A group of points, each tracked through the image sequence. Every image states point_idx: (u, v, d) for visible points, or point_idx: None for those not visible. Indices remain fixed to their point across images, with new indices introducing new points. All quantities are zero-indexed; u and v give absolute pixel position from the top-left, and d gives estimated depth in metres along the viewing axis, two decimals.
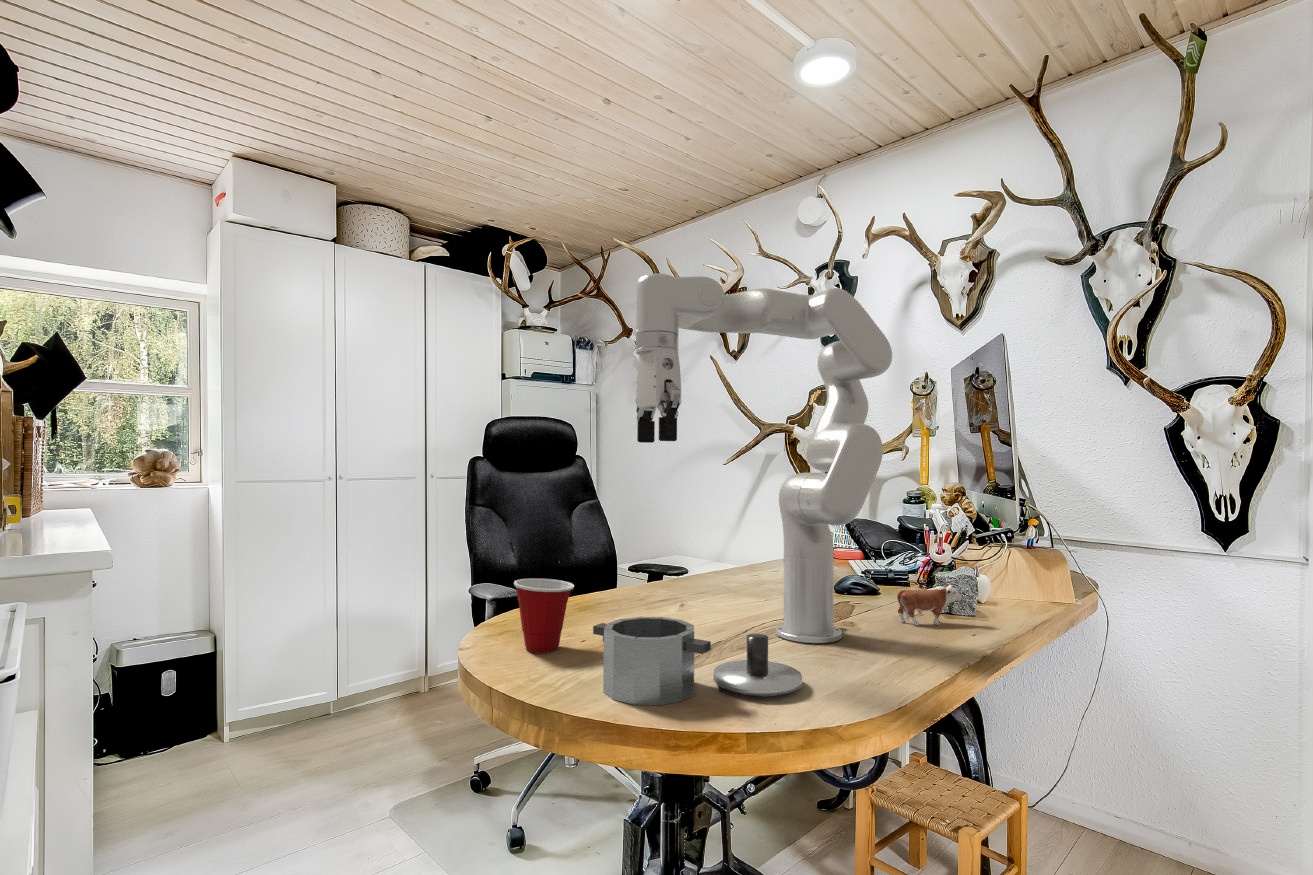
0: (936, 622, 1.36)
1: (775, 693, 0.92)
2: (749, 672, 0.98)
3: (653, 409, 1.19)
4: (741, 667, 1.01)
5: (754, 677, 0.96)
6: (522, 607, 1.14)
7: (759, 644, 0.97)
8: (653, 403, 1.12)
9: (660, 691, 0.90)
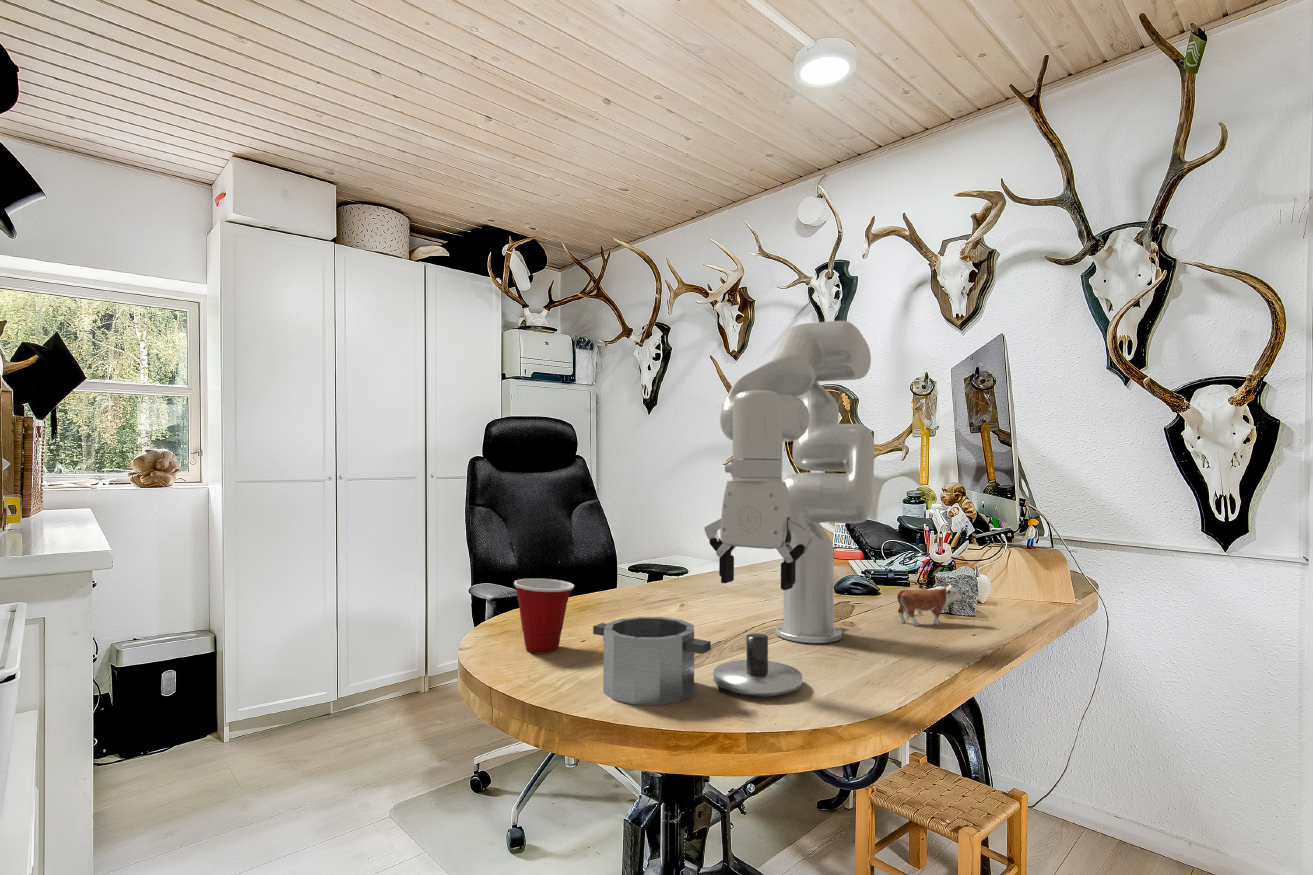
0: (936, 622, 1.36)
1: (775, 693, 0.92)
2: (749, 672, 0.98)
3: (776, 547, 0.96)
4: (741, 667, 1.01)
5: (754, 677, 0.96)
6: (522, 607, 1.14)
7: (759, 644, 0.97)
8: None
9: (660, 691, 0.90)
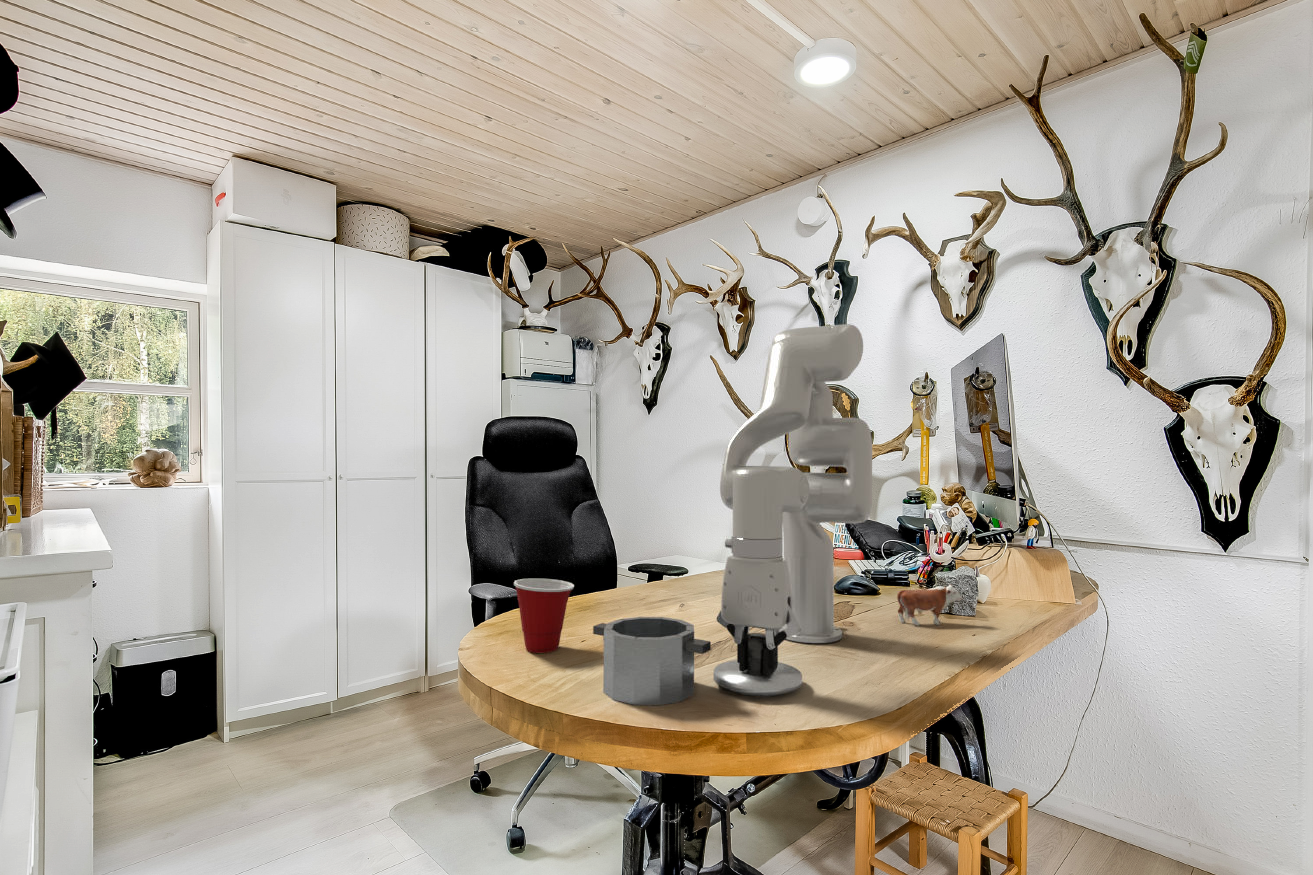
0: (936, 622, 1.36)
1: (775, 692, 0.92)
2: (749, 671, 0.98)
3: None
4: None
5: (754, 676, 0.96)
6: (522, 607, 1.14)
7: (759, 643, 0.97)
8: None
9: (660, 691, 0.90)
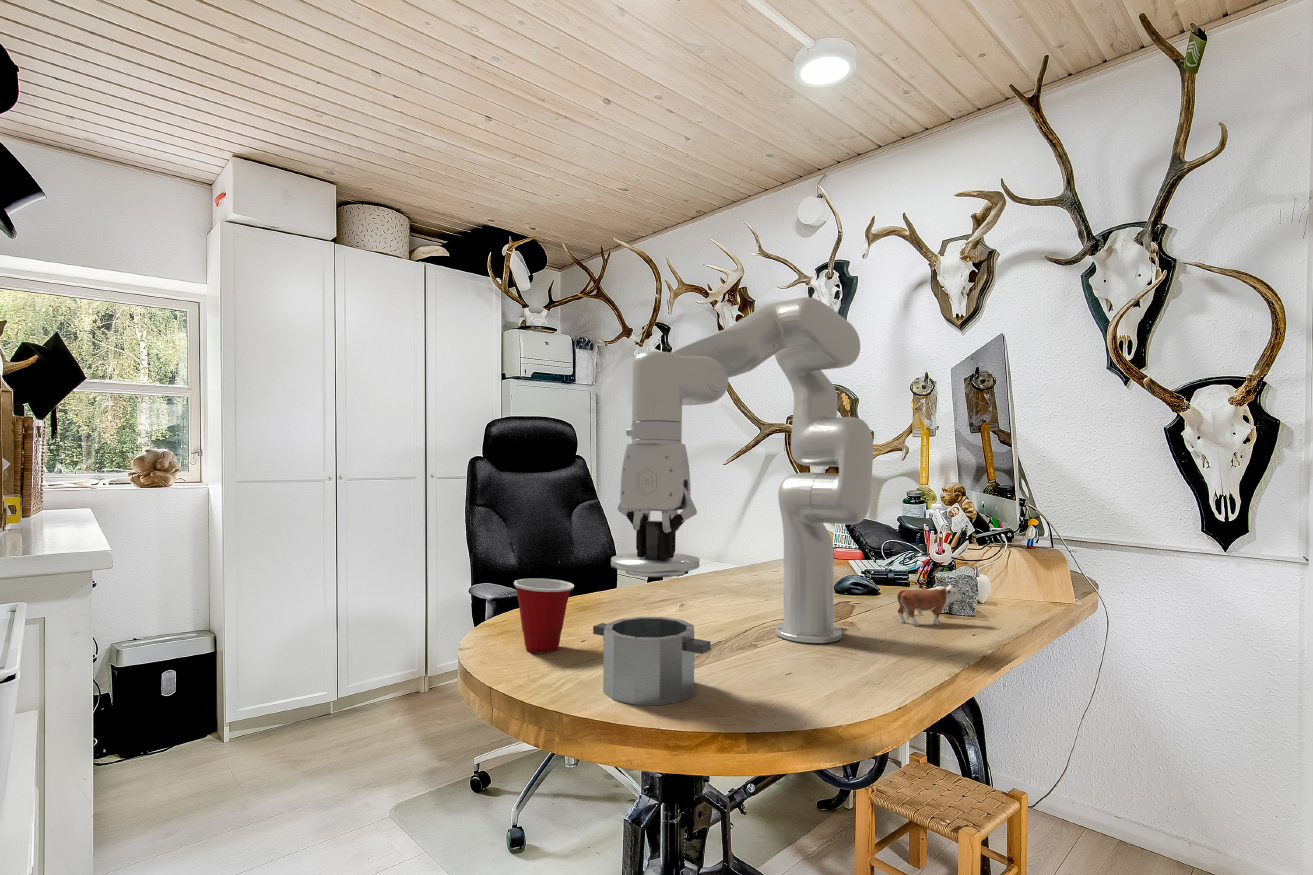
0: (936, 622, 1.36)
1: (667, 570, 0.91)
2: (646, 556, 0.96)
3: None
4: None
5: (650, 560, 0.95)
6: (522, 607, 1.14)
7: (656, 527, 0.96)
8: None
9: (660, 691, 0.90)
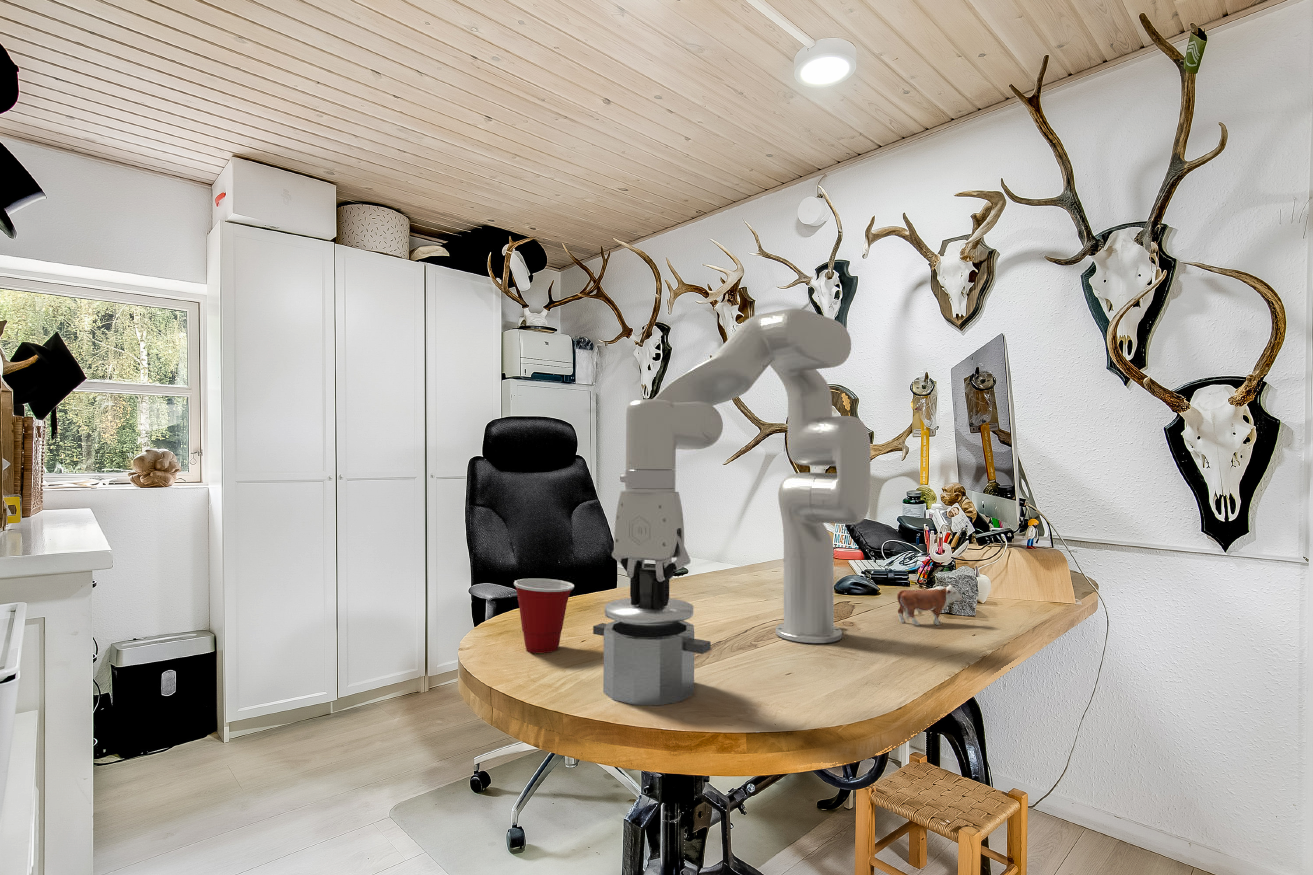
0: (936, 622, 1.36)
1: (660, 622, 0.91)
2: (640, 605, 0.96)
3: (656, 560, 0.96)
4: None
5: (643, 609, 0.95)
6: (522, 607, 1.14)
7: (650, 576, 0.96)
8: None
9: (660, 691, 0.90)
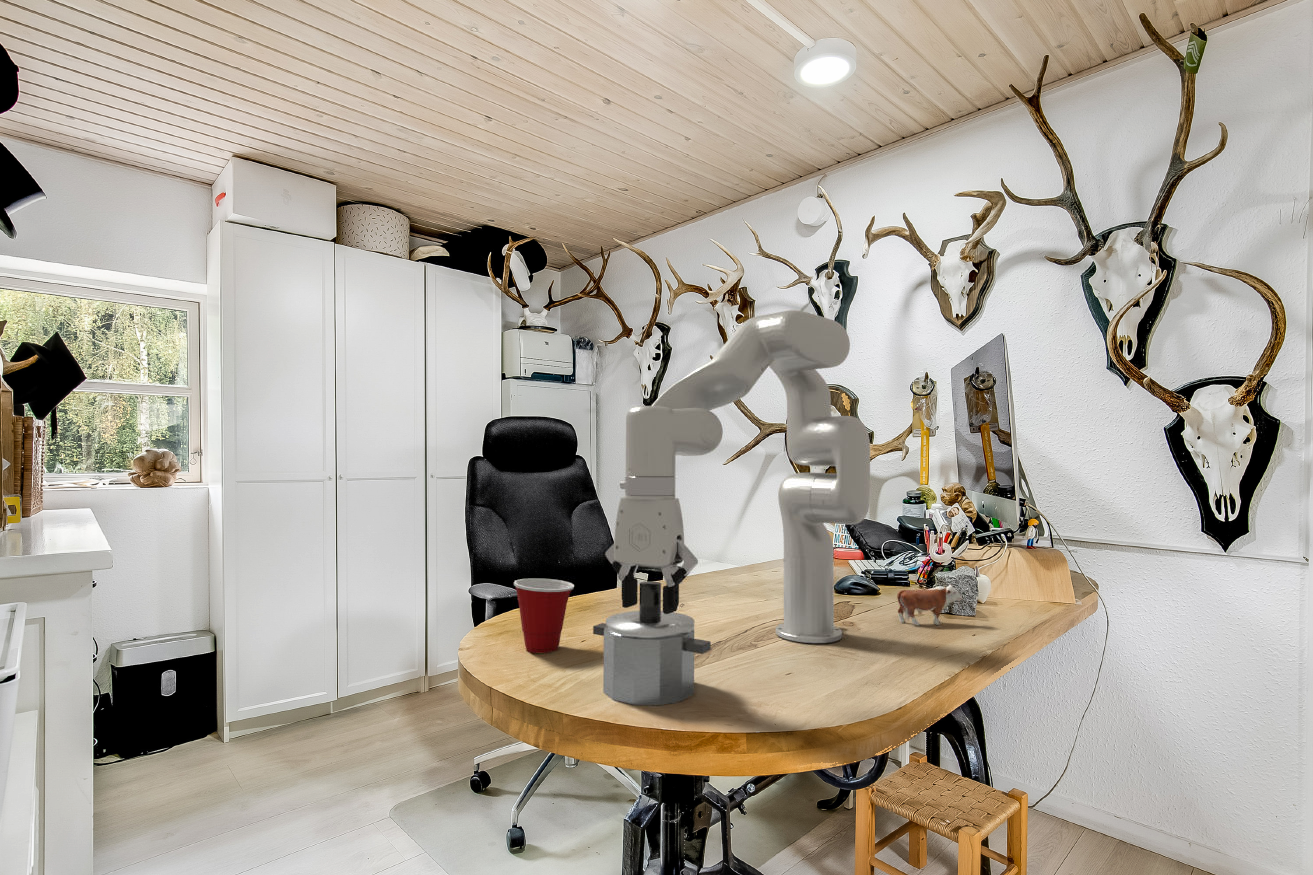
0: (936, 622, 1.36)
1: (661, 637, 0.91)
2: (641, 619, 0.96)
3: (662, 567, 0.95)
4: (636, 616, 1.00)
5: (644, 623, 0.95)
6: (522, 607, 1.14)
7: (650, 590, 0.96)
8: None
9: (660, 691, 0.90)
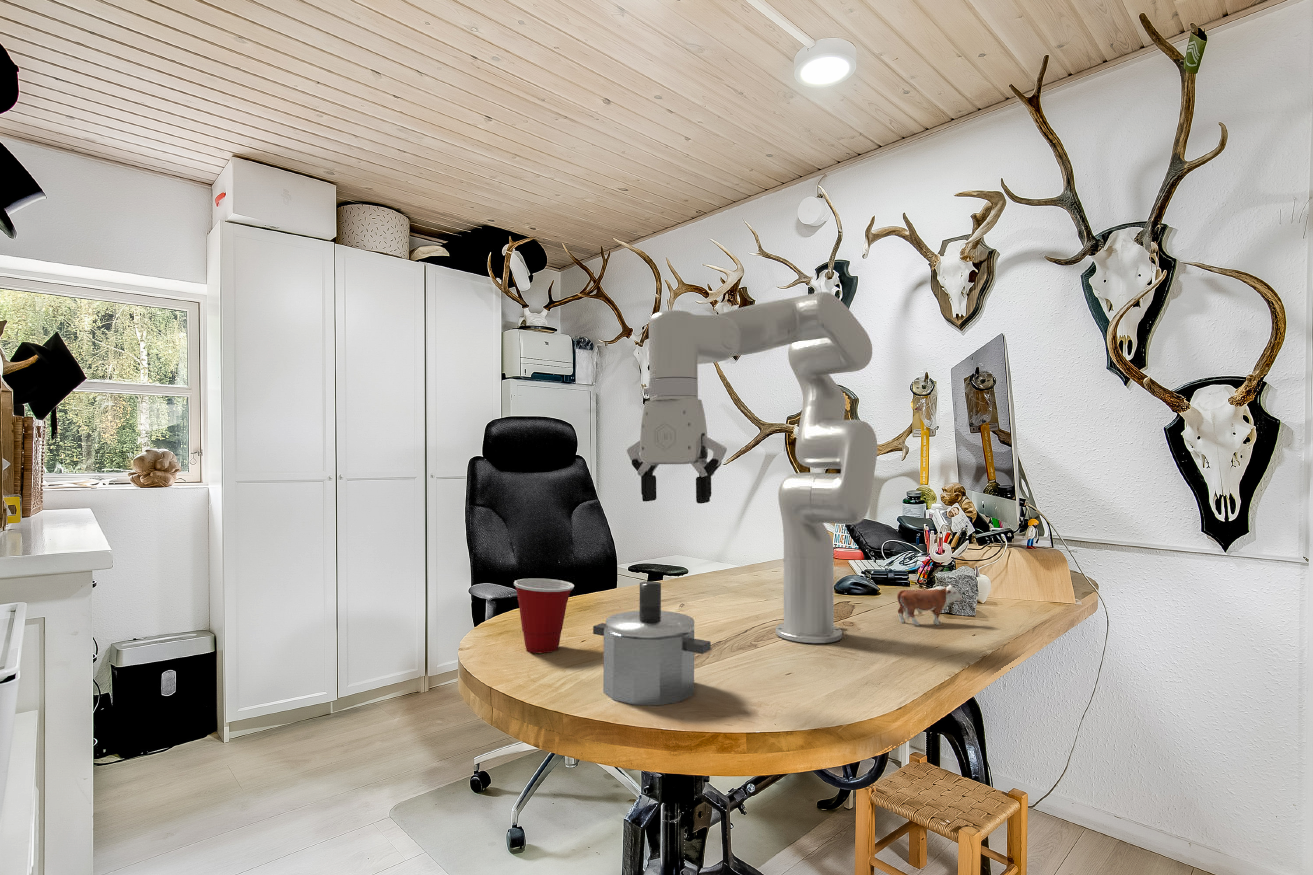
0: (936, 622, 1.36)
1: (661, 637, 0.91)
2: (641, 619, 0.96)
3: (692, 463, 0.99)
4: (636, 616, 1.00)
5: (644, 623, 0.95)
6: (522, 607, 1.14)
7: (650, 590, 0.96)
8: None
9: (660, 691, 0.90)
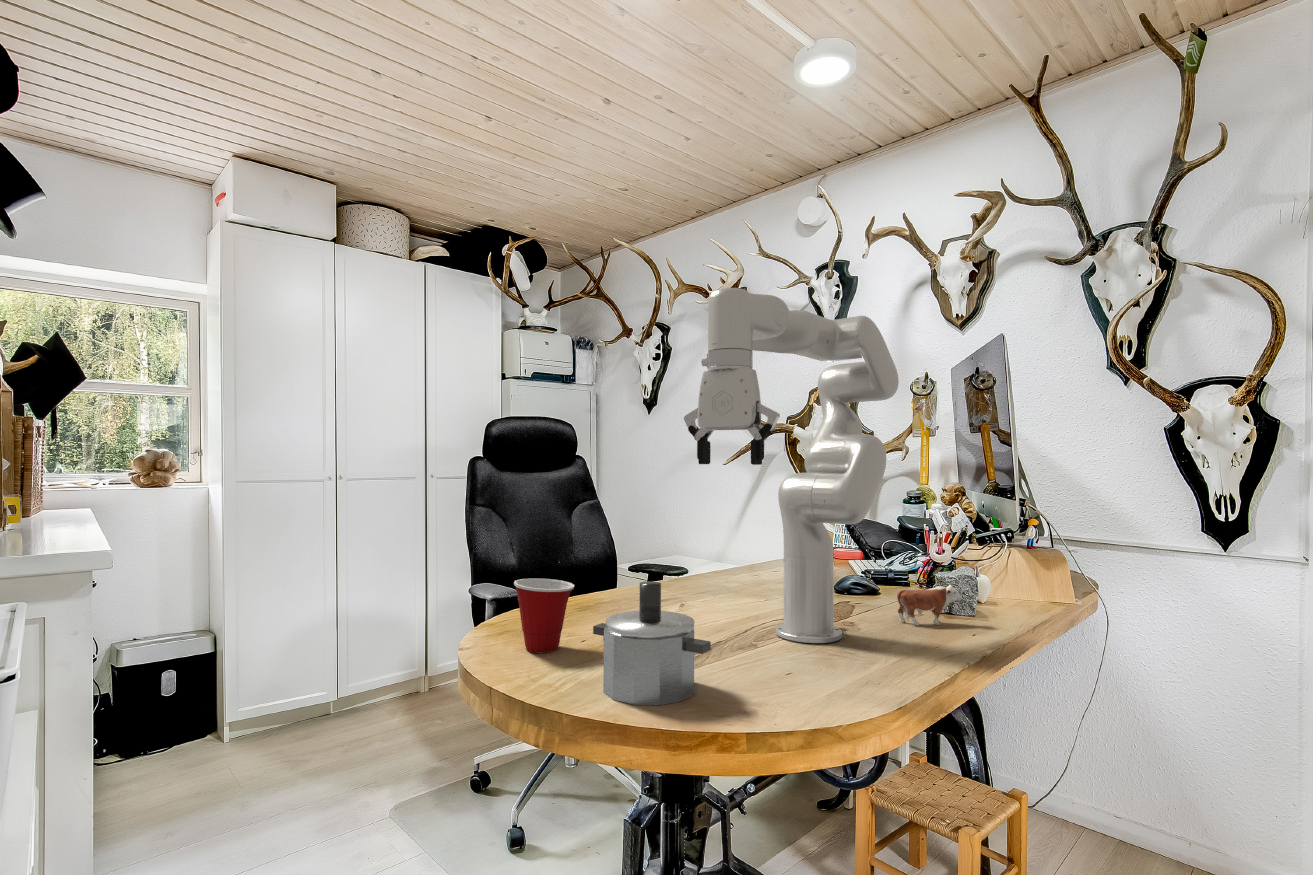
0: (936, 622, 1.36)
1: (661, 637, 0.91)
2: (641, 619, 0.96)
3: (747, 428, 1.07)
4: (636, 616, 1.00)
5: (644, 623, 0.95)
6: (522, 607, 1.14)
7: (650, 590, 0.96)
8: None
9: (660, 691, 0.90)
